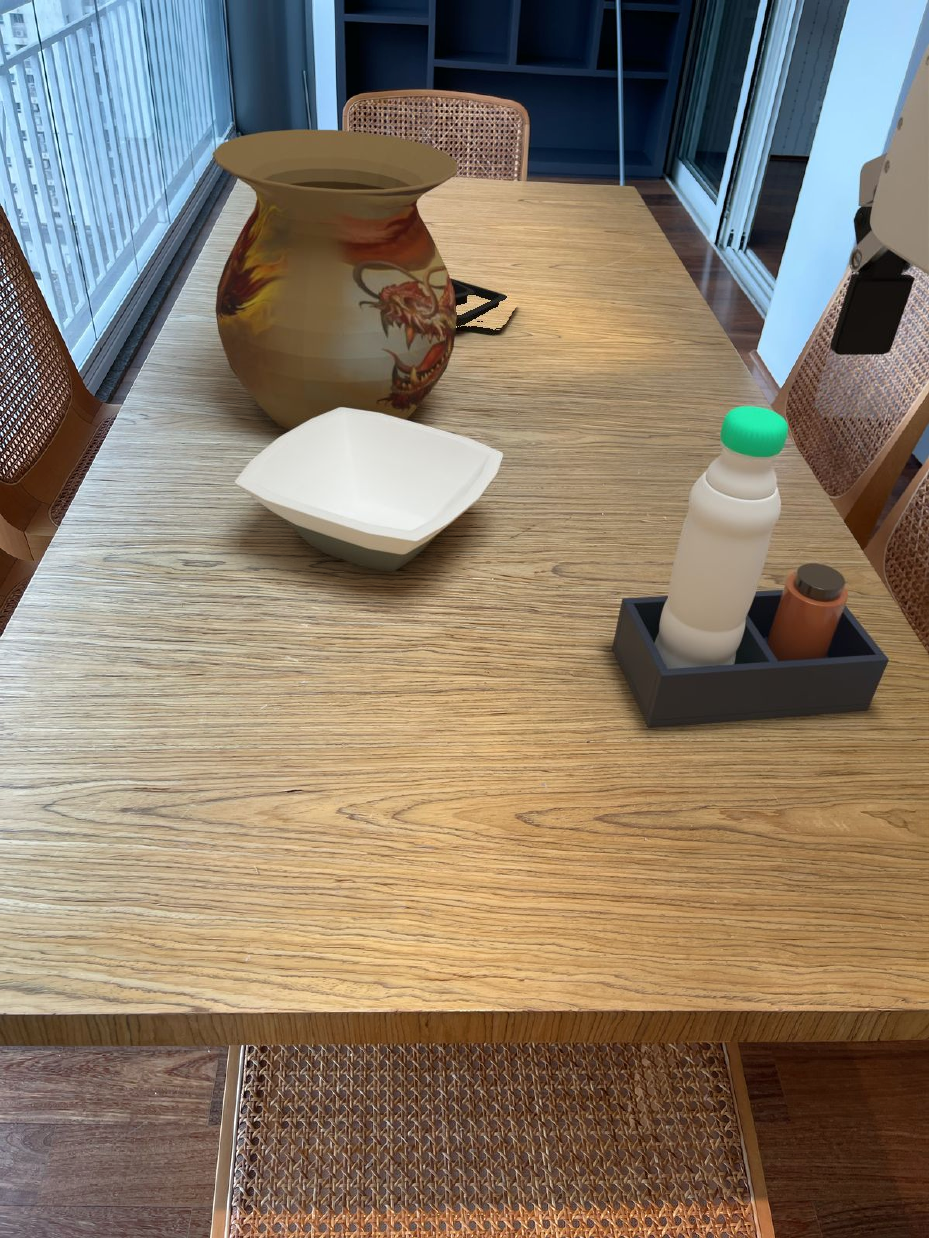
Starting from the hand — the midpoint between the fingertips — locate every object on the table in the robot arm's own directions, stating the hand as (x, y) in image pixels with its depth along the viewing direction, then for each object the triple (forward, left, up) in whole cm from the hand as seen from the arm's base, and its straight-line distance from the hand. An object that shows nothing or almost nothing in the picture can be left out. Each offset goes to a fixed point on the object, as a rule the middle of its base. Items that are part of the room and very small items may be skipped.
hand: (907, 393), depth 48 cm
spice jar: (-15, -22, -37) cm, 46 cm away
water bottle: (-5, -22, -37) cm, 44 cm away
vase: (+21, -79, -38) cm, 90 cm away
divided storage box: (-10, -22, -38) cm, 45 cm away
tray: (+5, -111, -38) cm, 118 cm away
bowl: (+20, -48, -38) cm, 65 cm away
